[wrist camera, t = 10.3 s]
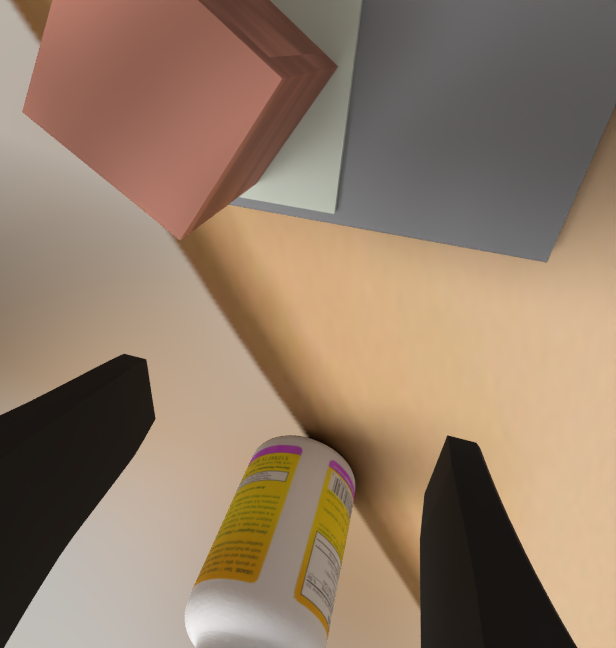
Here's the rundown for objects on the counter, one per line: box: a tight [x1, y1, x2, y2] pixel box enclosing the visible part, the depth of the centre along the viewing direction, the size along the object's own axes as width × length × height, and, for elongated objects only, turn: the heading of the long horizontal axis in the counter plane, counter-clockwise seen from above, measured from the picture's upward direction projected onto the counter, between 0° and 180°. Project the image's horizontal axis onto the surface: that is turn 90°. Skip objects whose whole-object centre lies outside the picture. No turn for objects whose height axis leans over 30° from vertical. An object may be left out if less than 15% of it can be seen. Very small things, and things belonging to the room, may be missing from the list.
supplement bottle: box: [185, 436, 355, 648], centre depth 22 cm, size 7×7×13 cm
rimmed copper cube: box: [23, 0, 338, 240], centre depth 13 cm, size 5×5×6 cm
